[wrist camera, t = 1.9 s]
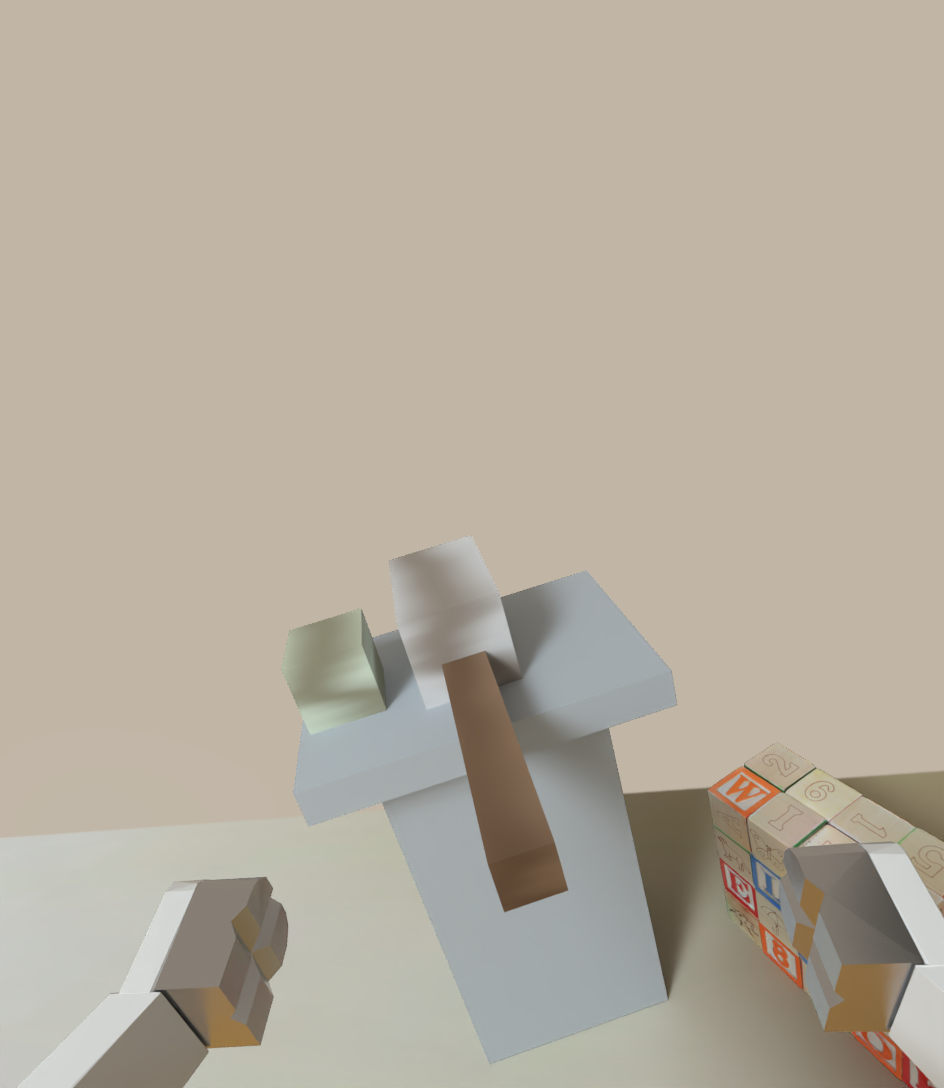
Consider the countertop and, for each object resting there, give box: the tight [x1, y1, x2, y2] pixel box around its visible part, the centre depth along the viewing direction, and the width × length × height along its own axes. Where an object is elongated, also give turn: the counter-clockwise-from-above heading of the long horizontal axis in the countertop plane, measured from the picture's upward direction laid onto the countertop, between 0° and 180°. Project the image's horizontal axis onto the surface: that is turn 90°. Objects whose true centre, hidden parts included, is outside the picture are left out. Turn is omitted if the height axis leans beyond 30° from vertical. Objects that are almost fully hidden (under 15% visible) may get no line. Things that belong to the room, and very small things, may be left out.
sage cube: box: [281, 609, 387, 735], centre depth 34 cm, size 4×4×4 cm
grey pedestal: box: [293, 571, 677, 1064], centre depth 40 cm, size 18×12×26 cm, turn 100°
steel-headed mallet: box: [389, 535, 568, 912], centre depth 29 cm, size 5×20×5 cm, turn 10°
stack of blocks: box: [708, 743, 944, 1088], centre depth 35 cm, size 21×6×12 cm, turn 27°
